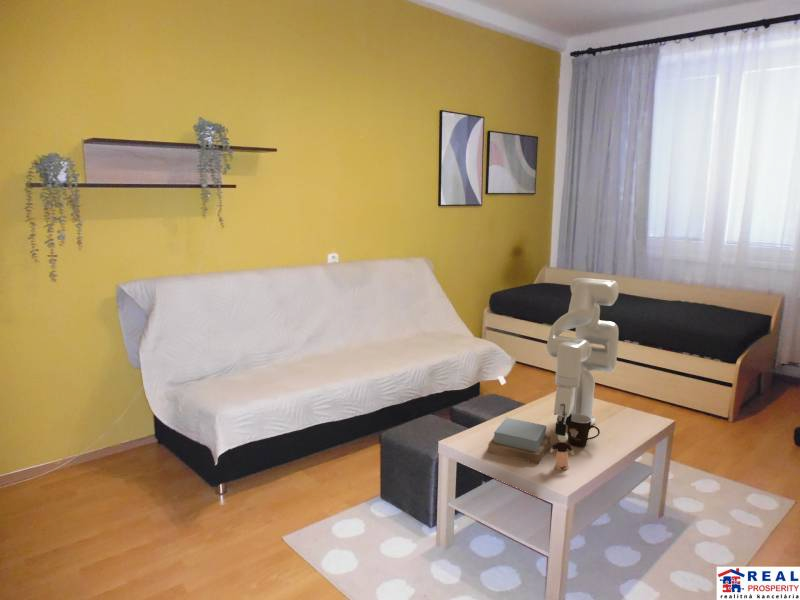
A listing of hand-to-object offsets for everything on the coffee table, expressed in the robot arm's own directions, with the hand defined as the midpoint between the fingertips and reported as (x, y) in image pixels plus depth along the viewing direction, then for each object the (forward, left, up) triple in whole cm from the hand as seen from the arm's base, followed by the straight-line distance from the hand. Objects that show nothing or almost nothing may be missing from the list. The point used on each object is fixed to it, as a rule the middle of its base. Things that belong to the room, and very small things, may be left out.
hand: (563, 429), depth 184 cm
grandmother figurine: (-1, 0, -14) cm, 14 cm away
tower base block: (-9, -16, -15) cm, 23 cm away
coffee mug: (-22, +3, -14) cm, 26 cm away
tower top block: (-9, -16, -11) cm, 21 cm away
